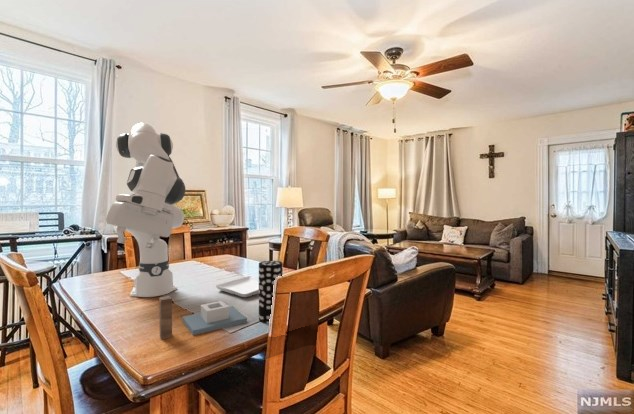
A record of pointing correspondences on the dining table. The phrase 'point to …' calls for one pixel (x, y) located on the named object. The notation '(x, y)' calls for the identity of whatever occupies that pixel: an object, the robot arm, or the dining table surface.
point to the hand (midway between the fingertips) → (135, 245)
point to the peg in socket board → (213, 318)
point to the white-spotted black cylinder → (267, 287)
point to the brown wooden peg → (165, 317)
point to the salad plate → (241, 286)
